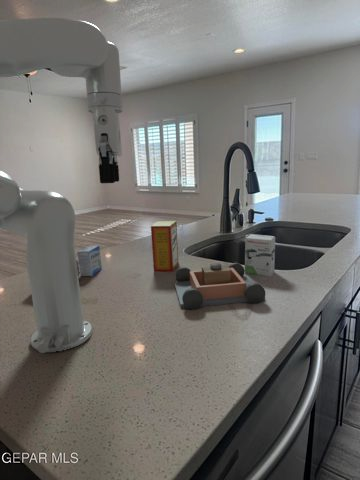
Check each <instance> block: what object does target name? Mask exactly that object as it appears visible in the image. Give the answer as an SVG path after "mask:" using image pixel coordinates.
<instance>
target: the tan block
mask: <svg viewBox="0 0 360 480" xmlns="http://www.w3.org/2000/svg"><path fill="white" fill-rule="evenodd" d="M201 270H202V286H204V285H215V284H226V283H231V270H230V269H229V265H227V264H221V263H217V262H213V263H211V264H209V265H206V266H201Z"/></svg>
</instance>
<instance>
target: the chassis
mask: <svg viewBox="0 0 360 480" xmlns="http://www.w3.org/2000/svg"><path fill="white" fill-rule="evenodd" d="M228 267H229V269H230V270H231V283H226V284H215V285H204V286H202V269H200V270H191V269H190V268H189V267H185V266H182V267H179V268H178V269H177V270H176V271H175V274H174V276H175V277H174V278H175V280H176V281H174V283H173V284H174V289H175V292H176V296H177V300H178V303H179V307H180V309H185V308H187V309H188V310H197V309H199V308H200V307H205V306H206V307H207V306H217V305H218V306H219V305H226V304H227V305H228V304H238V303H251V304H253V305H255V304H259V303H261V302H263V301H266V290H265V288H264V287H263V286H262V285H261V284H260V283H258V282H252V280H251V279H249V277H248V276H247V275H245V274H246V273H245V267H243V265H242V264H241V263H238V262H233V263H231V264H230V265H228Z"/></svg>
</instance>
